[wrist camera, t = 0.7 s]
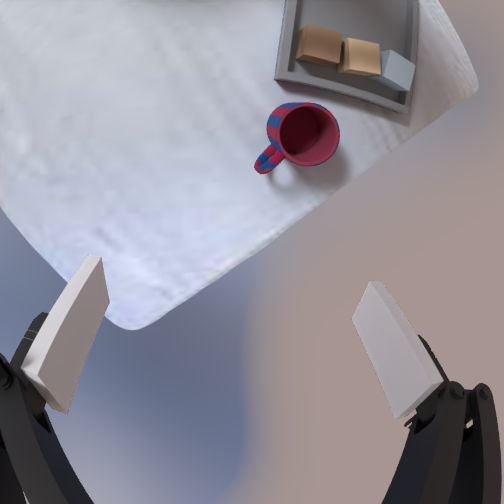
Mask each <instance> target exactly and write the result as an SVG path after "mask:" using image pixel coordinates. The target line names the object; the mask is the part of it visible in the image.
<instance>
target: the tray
mask: <svg viewBox="0 0 504 504" xmlns="http://www.w3.org/2000/svg"><path fill="white" fill-rule="evenodd" d="M307 24H312V25H316V26H320V27H324V28H327V29H331V30H334V31H337V32H341V33H343V36H342V40H344V39H346V38H352V39H358V40H363V41H368V42H372V43H377V44H379V50H380V52H382V51H386V50H392V51H394V52H396V53H397V54H399V55H401V56H402V57H404V58H405V59H407V60H408V61H410V62H411V63H413V64H414V65H416V56H417V42H418V0H285V7H284V14H283V21H282V28H281V35H280V42H279V49H278V57H277V64H276V71H275V78H274V80H280V81H286V82H292V83H297V84H302V85H307V86H312V87H316V88H320V89H325V90H329V91H333V92H337V93H340V94H344V95H347V96H351V97H354V98H358V99H361V100H364V101H367V102H370V103H373V104H376V105H379V106H382V107H385V108H388V109H391V110H393V111H396V112H398V113H402V114H408V115H409V112H410V105H411V99H412V92H413V85H414V76H415V71H414V75H413V79H412V83H411V86H410V90H409V91H394V90H391V89H389V88H387V87H385V86H383V85H382V84H380V83H378V82H376V81H374V80H372V79H370V78H368V76H362V75H356V74H349V73H341V72H337V64H335V65H332V66H328V67H325V66H321V65H317V64H313V63H308V62H304V61H299V60H295V56H296V48H297V41H298V34H299V31H300V30H301V29H302V28H303V27H305V26H306V25H307Z"/></svg>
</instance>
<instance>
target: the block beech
mask: <svg viewBox="0 0 504 504" xmlns="http://www.w3.org/2000/svg"><path fill="white" fill-rule="evenodd" d="M337 72H341V73H349V74H356V75H362V76H369V75H379V74H381V66H380V50H379V44H377V43H372V42H368V41H363V40H358V39H352V38H346V39H344V40H342V44H341V53H340V60H339V63H338V64H337Z"/></svg>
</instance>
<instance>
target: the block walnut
mask: <svg viewBox="0 0 504 504" xmlns="http://www.w3.org/2000/svg"><path fill="white" fill-rule="evenodd" d="M342 36H343V33H341V32H337V31H334V30H331V29H327V28H324V27H320V26H316V25H312V24H307V25H306V26H305V27H303V28H302V29H301V30H300V31H299V34H298V41H297V48H296V56H295V60H299V61H304V62H308V63H313V64H317V65H321V66H325V67H328V66H332V65H335V64H338V63H339V60H340V53H341V44H342Z"/></svg>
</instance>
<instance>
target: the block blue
mask: <svg viewBox="0 0 504 504" xmlns="http://www.w3.org/2000/svg"><path fill="white" fill-rule="evenodd" d="M380 66H381V74H379V75H369V76H368V78H370V79H372V80H374V81H376V82H378V83H380V84H382V85H383V86H385V87H387V88H389V89H391V90H394V91H409V90H410V86H411V83H412V79H413V75H414V71H415V67H416V65H414V64H413V63H411V62H410V61H408V60H407V59H405V58H404V57H402V56H401V55H399V54H397V53H396V52H394V51H392V50H386V51H382V52H380Z"/></svg>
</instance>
